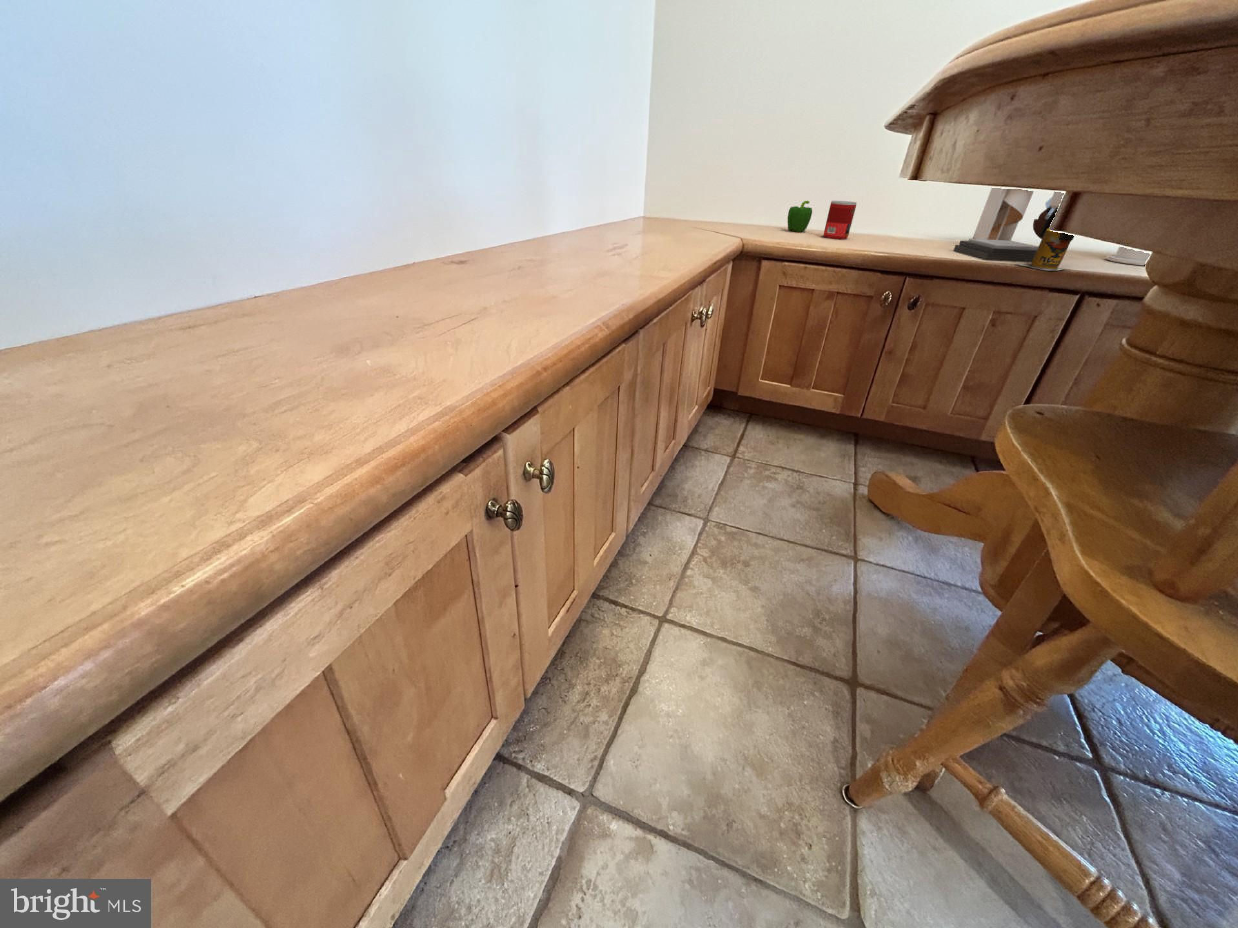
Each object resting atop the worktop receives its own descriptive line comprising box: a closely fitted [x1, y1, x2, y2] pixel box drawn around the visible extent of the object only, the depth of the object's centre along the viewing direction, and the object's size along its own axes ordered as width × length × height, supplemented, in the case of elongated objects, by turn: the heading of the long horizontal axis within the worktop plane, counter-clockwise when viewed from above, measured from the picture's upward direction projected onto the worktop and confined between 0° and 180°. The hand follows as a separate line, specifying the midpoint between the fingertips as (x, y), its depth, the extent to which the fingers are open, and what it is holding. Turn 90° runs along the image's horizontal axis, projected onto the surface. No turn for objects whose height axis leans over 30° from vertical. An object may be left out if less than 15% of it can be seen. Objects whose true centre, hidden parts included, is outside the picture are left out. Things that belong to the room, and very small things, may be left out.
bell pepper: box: [787, 200, 813, 233], centre depth 179 cm, size 8×8×10 cm
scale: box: [953, 240, 1037, 263], centre depth 147 cm, size 18×16×3 cm
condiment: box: [1016, 226, 1072, 271], centre depth 130 cm, size 7×8×12 cm
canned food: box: [823, 200, 858, 240], centre depth 167 cm, size 8×8×11 cm
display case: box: [971, 187, 1034, 241], centre depth 156 cm, size 11×11×35 cm
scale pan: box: [967, 238, 1039, 250], centre depth 146 cm, size 13×13×1 cm
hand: (1055, 237), depth 128 cm, fingers closed on condiment, 6 cm apart
